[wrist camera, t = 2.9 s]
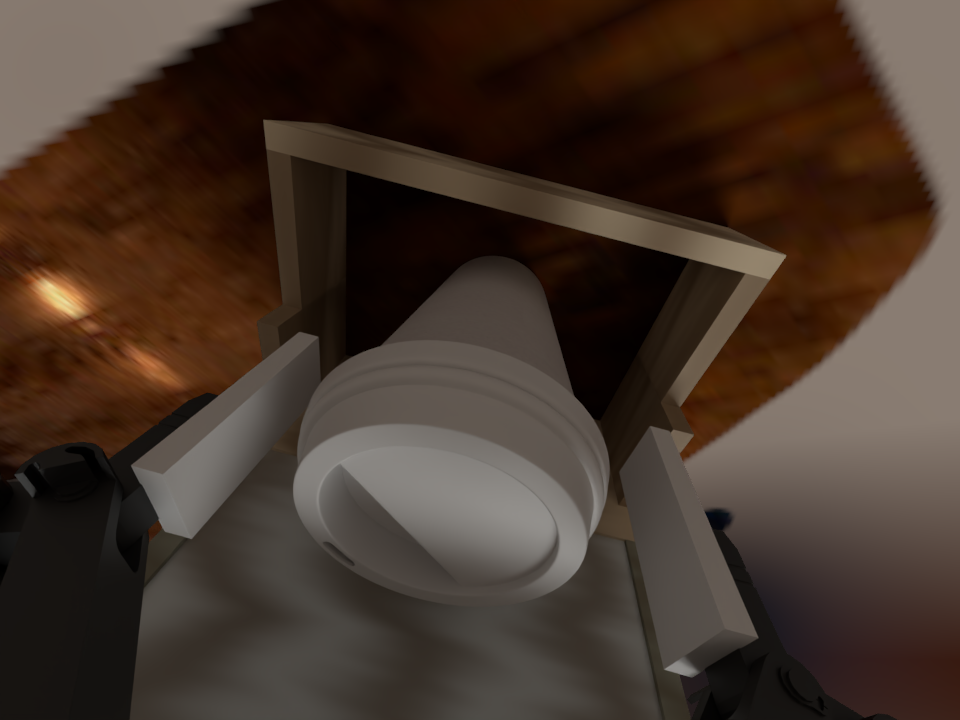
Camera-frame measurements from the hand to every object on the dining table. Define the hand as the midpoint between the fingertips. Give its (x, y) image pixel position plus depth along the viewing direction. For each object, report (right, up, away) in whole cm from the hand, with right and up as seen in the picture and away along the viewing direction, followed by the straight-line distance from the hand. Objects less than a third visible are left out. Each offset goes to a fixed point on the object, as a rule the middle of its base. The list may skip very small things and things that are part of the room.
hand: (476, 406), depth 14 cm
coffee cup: (+1, +5, +8) cm, 10 cm away
